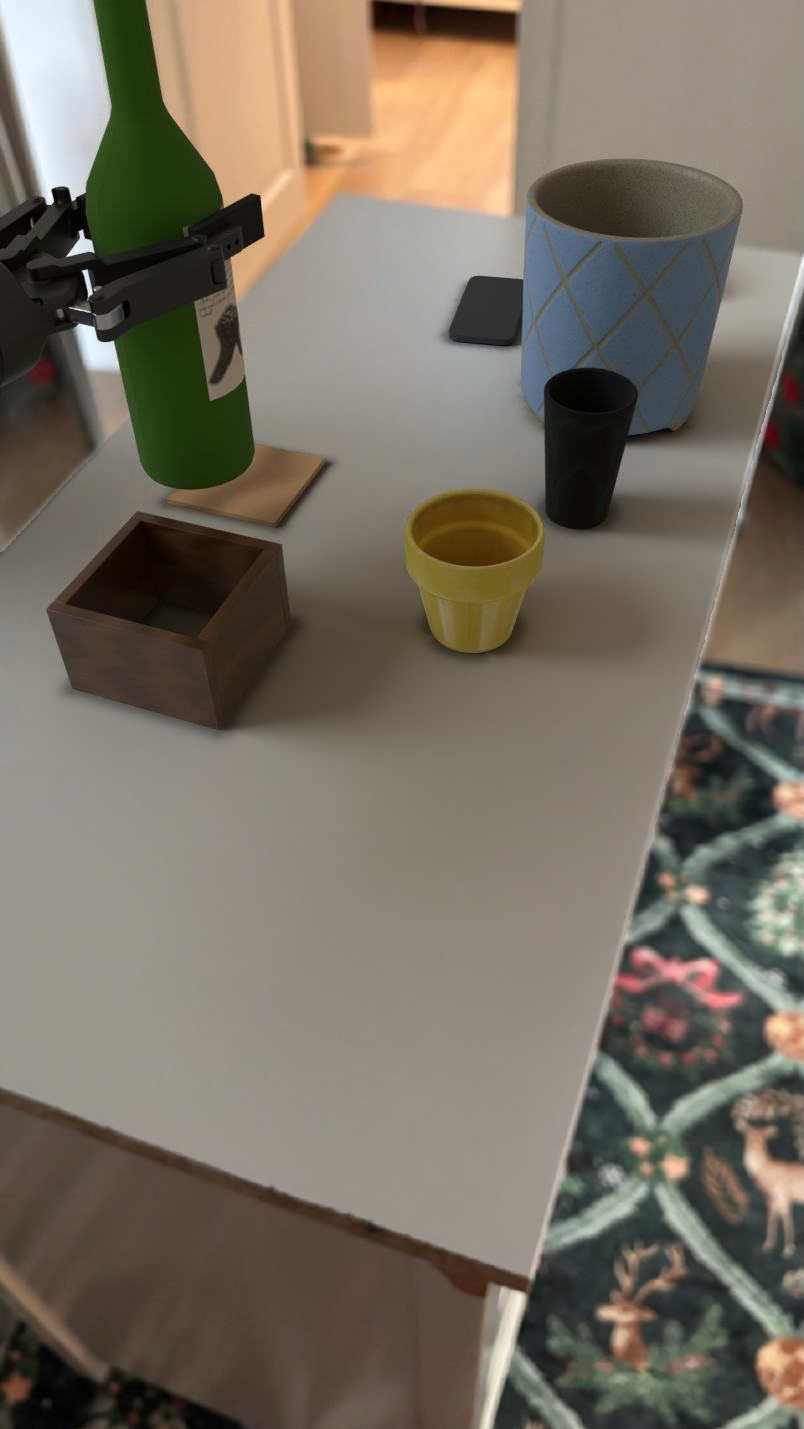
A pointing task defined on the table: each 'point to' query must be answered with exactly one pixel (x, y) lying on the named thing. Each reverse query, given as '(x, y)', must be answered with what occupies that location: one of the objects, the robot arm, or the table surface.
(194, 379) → the wine bottle
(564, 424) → the cup
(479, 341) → the phone
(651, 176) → the planter
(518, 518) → the flower pot
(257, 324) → the table surface
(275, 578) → the holder
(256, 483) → the cork mat
